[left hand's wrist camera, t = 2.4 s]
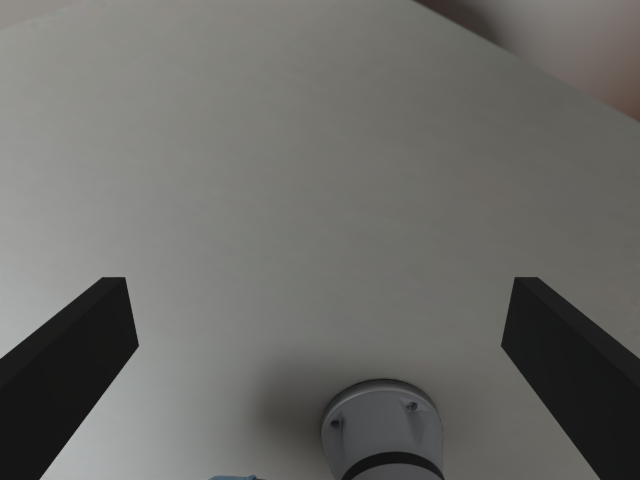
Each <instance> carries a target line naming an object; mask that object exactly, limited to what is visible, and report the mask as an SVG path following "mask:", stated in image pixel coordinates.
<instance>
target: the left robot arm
mask: <svg viewBox="0 0 640 480" xmlns="http://www.w3.org/2000/svg"><path fill="white" fill-rule="evenodd" d="M138 347H139V344H138V339H137V334H136V329H135V324H134V319H133V314H132V309H131V304H130V299H129V294H128V289H127V284H126V279H125V277H102V278H101V279H100V280H98V281H97V282H96V283H95V284H93V285H92V286H91V287H90V288H88V289H87V290H86V291H85V292H83V293H82V294H81V295H80V296H78V297H77V298H76V299H75V300H73V301H72V302H71V303H70V304H68V305H67V306H66V307H65V308H63V309H62V310H61V311H60V312H58V313H57V314H56V315H55V316H53V317H52V318H51V319H50V320H48V321H47V322H46V323H45V324H43V325H42V326H41V327H40V328H38V329H37V330H36V331H35V332H33V333H32V334H31V335H30V336H28V337H27V338H26V339H25V340H23V341H22V342H21V343H20V344H18V345H17V346H16V347H15V348H13V349H12V350H11V351H10V352H8V353H7V354H6V355H5V356H3V357H2V358H1V359H0V480H40V478H41V477H42V475H43V474H44V473H45V471H46V470H47V469H48V467H49V466H50V465H51V463H52V462H53V461H54V459H55V458H56V457H57V455H58V454H59V453H60V451H61V450H62V449H63V447H64V446H65V445H66V443H67V442H68V441H69V439H70V438H71V437H72V435H73V434H74V433H75V431H76V430H77V429H78V427H79V426H80V424H81V423H82V422H83V420H84V419H85V418H86V416H87V415H88V414H89V412H90V411H91V410H92V408H93V407H94V406H95V404H96V403H97V402H98V400H99V399H100V398H101V396H102V395H103V394H104V392H105V391H106V390H107V388H108V387H109V386H110V384H111V383H112V382H113V380H114V379H115V378H116V376H117V375H118V373H119V372H120V371H121V369H122V368H123V367H124V365H125V364H126V363H127V361H128V360H129V359H130V357H131V356H132V355H133V353H134V352H135V351H136V349H137V348H138ZM501 347H502V348H503V349H504V351H505V352H506V353H507V355H508V356H509V357H510V359H511V360H512V361H513V363H514V364H515V365H516V367H517V368H518V369H519V371H520V372H521V373H522V375H523V376H524V378H525V379H526V380H527V382H528V383H529V384H530V386H531V387H532V388H533V390H534V391H535V392H536V394H537V395H538V396H539V398H540V399H541V400H542V402H543V403H544V404H545V406H546V407H547V408H548V410H549V411H550V412H551V414H552V415H553V416H554V418H555V419H556V420H557V422H558V423H559V424H560V426H561V427H562V429H563V430H564V431H565V433H566V434H567V435H568V437H569V438H570V439H571V441H572V442H573V443H574V445H575V446H576V447H577V449H578V450H579V451H580V453H581V454H582V455H583V457H584V458H585V459H586V461H587V462H588V463H589V465H590V466H591V467H592V469H593V470H594V471H595V473H596V474H597V475H598V477H599V478H600V480H640V359H639V358H638V357H637V356H635V355H634V354H633V353H632V352H630V351H629V350H628V349H627V348H625V347H624V346H623V345H622V344H620V343H619V342H618V341H617V340H615V339H614V338H613V337H612V336H610V335H609V334H608V333H607V332H605V331H604V330H603V329H602V328H600V327H599V326H598V325H597V324H595V323H594V322H593V321H592V320H590V319H589V318H588V317H587V316H585V315H584V314H583V313H582V312H580V311H579V310H578V309H577V308H575V307H574V306H573V305H572V304H570V303H569V302H568V301H567V300H565V299H564V298H563V297H562V296H560V295H559V294H558V293H557V292H555V291H554V290H553V289H552V288H550V287H549V286H548V285H547V284H545V283H544V282H543V281H542V280H540V279H539V278H538V277H515V279H514V284H513V289H512V294H511V299H510V304H509V309H508V314H507V319H506V324H505V329H504V334H503V339H502V344H501ZM321 440H322V447H323V450H324V453H325V455H326V458H327V461H328V463H329V466H330V468H331V471H332V474H333V476H334V479H335V480H445V479H444V476H443V427H442V423H441V420H440V417H439V415H438V412H437V409H436V407H435V405H434V404H433V402H432V401H431V399H430V398H429V397H428V396H427V395H426V394H425V393H423V392H422V391H421V390H419V389H418V388H416V387H414V386H412V385H409V384H407V383H403V382H399V381H393V380H374V381H368V382H363V383H360V384H357V385H354V386H352V387H350V388H348V389H346V390H345V391H343V392H342V393H340V394H339V395H338V396H337V397H335V398H334V399H333V401H332V402H331V403H330V404H329V406H328V407H327V409H326V411H325V413H324V415H323V418H322V425H321ZM209 480H263V479H256V476H253V475H251V476H249V477H234V476H215V477H212V478H210V479H209Z"/></svg>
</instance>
